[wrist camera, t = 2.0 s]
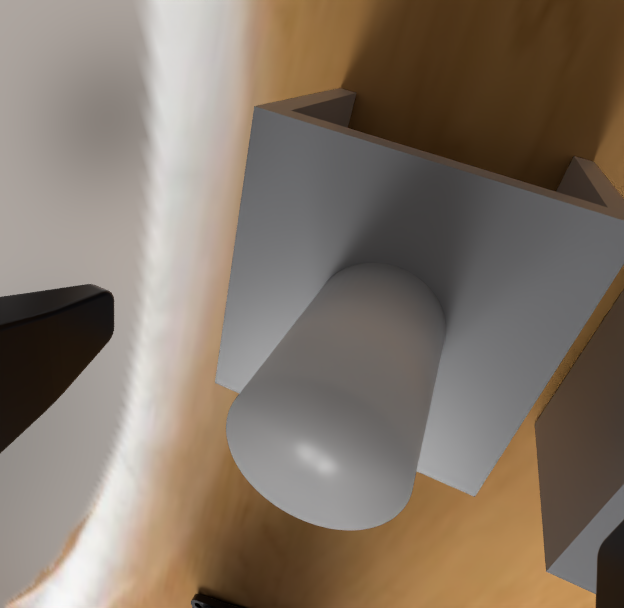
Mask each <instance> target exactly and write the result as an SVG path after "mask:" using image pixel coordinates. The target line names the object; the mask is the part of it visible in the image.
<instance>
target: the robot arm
mask: <svg viewBox="0 0 624 608" xmlns="http://www.w3.org/2000/svg"><path fill="white" fill-rule="evenodd" d="M113 331H114V297H113V295H112V293H111V292H110V291H108V290H106V289H103V288H101V287H98V286H96V285H92V284H87V285H80V286H73V287H66V288H59V289H52V290H45V291H39V292H32V293H25V294H17V295H10V296H4V297H0V453H1V452H2V451H3V450H4V449H5V448H7V447H8V446H9V445H10V444H11V443H12V442H13V441H14V440H15V439H16V438H17V437H18V436H19V435H20V434H22V433H23V432H24V431H25V430H26V429H27V428H28V427H29V426H30V425H31V424H32V423H33V422H34V421H36V420H37V419H38V418H39V417H40V416H41V415H42V414H43V413H44V412H45V411H46V410H47V409H48V408H49V407H50V406H51V405H52V404H53V403H54V402H55V401H56V400H57V399H58V398H59V397H60V396H61V395H62V394H63V393H64V392H65V391H66V389H67V388H68V387H69V386H70V385H71V384H72V382H73V381H74V380H75V379H76V378H77V377H78V376H79V375H80V374H81V372H82V371H83V370H84V369H85V368H86V367H87V365H88V364H89V363H90V362H91V361H92V360H93V359H94V358H95V356H96V355H97V354H98V353H99V352H100V351H101V350H102V348H103V347H104V346H105V345H106V344H107V343H108V342H109V340H110V339H111V337H112V335H113ZM191 604H192V608H238V607H235V606H232V605H230V604H227V603H224V602H221V601H218V600H215V599H212V598H210V597H207V596H204V595H201V594H195V595H194V597H193V599H192V601H191ZM596 608H624V519H623V521H622V522H621V523H620V524H619V525H618V526H617V527H616V528H615V529H614V530H613V531H612V532H611V533H610V534H609V535H608V536H607V538H606V539H605V540H604V541H603V542H602V544H601V546H600V548H599V551H598V555H597V581H596Z"/></svg>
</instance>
